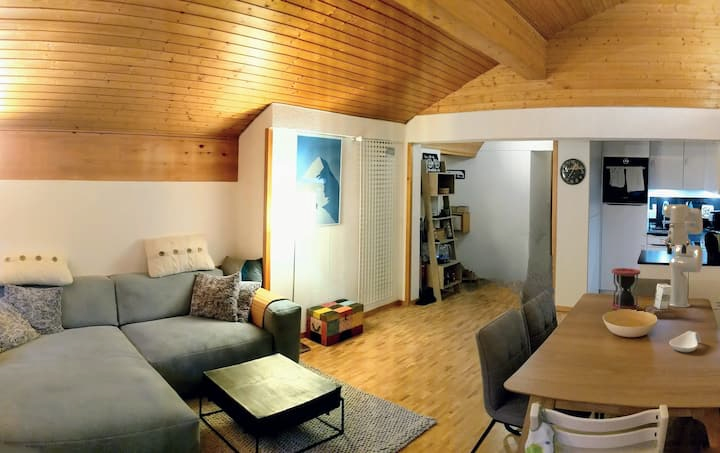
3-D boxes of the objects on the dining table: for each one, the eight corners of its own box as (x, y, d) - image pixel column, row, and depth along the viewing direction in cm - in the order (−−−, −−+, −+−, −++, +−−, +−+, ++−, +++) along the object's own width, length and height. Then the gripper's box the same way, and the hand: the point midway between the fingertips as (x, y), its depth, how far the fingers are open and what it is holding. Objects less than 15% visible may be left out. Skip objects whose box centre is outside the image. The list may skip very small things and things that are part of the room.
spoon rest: (692, 356, 247) (693, 341, 247) (665, 350, 256) (665, 336, 256) (708, 345, 263) (709, 331, 262) (682, 340, 272) (682, 326, 271)
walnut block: (645, 314, 323) (645, 306, 323) (665, 314, 322) (665, 306, 322) (654, 319, 311) (654, 311, 311) (675, 319, 310) (675, 311, 310)
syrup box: (661, 305, 320) (665, 283, 316) (668, 309, 314) (672, 286, 311) (653, 306, 319) (656, 283, 316) (659, 309, 313) (663, 286, 310)
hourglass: (644, 309, 334) (645, 270, 331) (631, 313, 324) (632, 273, 322) (618, 304, 346) (619, 267, 344) (606, 308, 337) (606, 270, 335)
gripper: (669, 227, 314) (668, 255, 316) (695, 225, 317) (694, 254, 318) (660, 226, 321) (659, 253, 323) (685, 224, 324) (684, 252, 326)
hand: (676, 253), depth 321 cm, fingers open, 9 cm apart
